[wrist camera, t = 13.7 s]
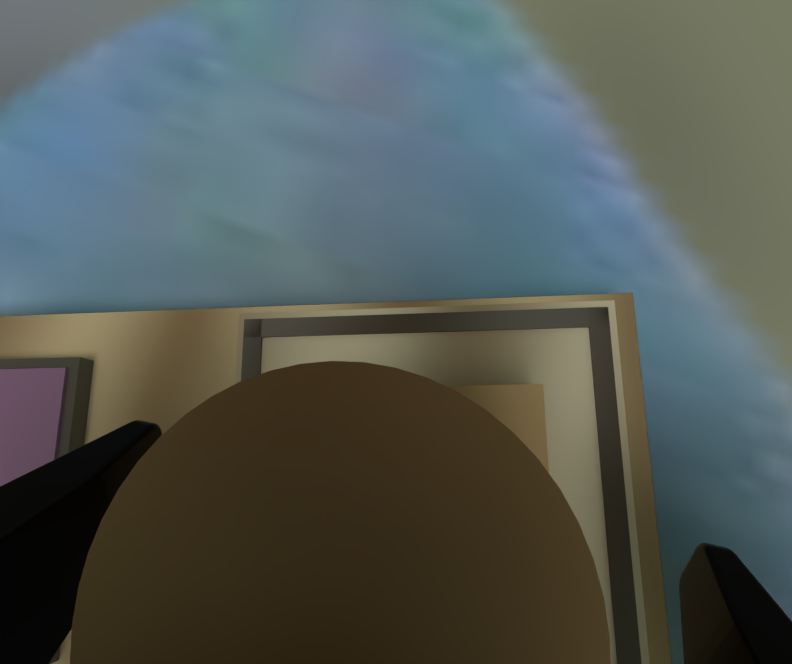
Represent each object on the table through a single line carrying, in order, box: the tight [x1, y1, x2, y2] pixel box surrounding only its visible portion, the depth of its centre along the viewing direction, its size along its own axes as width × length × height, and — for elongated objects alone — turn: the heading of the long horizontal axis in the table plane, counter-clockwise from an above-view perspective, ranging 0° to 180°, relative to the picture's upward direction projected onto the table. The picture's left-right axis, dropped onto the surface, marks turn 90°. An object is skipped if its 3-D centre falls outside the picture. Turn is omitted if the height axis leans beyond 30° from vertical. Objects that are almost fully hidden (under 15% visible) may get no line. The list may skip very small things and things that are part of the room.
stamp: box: [70, 361, 610, 664], centre depth 9 cm, size 6×6×10 cm
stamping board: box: [0, 293, 672, 664], centre depth 16 cm, size 24×10×2 cm, turn 91°
